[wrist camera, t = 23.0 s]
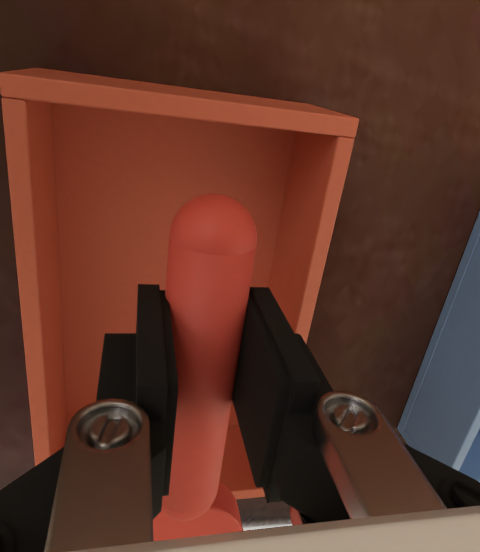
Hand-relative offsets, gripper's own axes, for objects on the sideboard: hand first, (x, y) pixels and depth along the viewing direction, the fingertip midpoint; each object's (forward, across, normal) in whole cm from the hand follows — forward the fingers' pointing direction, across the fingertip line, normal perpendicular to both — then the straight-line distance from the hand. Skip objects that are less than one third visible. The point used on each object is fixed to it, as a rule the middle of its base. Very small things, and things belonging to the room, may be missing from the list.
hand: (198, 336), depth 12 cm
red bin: (+8, 0, +3) cm, 9 cm away
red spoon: (+1, 0, +3) cm, 3 cm away
